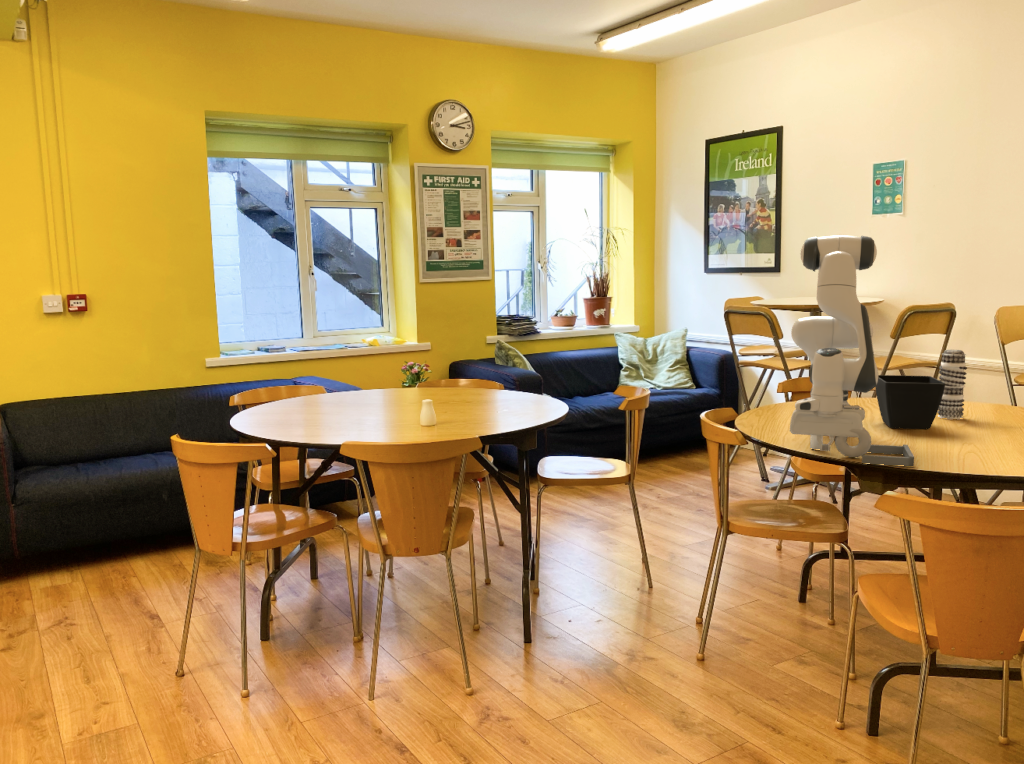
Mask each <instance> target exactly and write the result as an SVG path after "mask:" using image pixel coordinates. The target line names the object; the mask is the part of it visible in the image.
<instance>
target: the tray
mask: <svg viewBox="0 0 1024 764" xmlns="http://www.w3.org/2000/svg"><path fill="white" fill-rule="evenodd" d="M868 452H871V453H870V454H864V455H862V456H861V464H862V463H870V464H884V465H904V466H915V456H914V454H913V452H912V450H911V448H910V447H909V444H902V445H889V444H871V446H870V449H869V450H868ZM873 453H884V454H883V455H876V454H875V455H874V454H873ZM871 454H873V455H871ZM891 454H903V455H902V456H893V455H892V456H891ZM886 455H887V456H886ZM888 455H890V456H888ZM884 465H883V466H884Z"/></svg>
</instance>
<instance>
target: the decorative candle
mask: <svg viewBox="0 0 1024 764" xmlns="http://www.w3.org/2000/svg"><path fill="white" fill-rule="evenodd" d="M966 356H967V354H966V353H965V352H964V351H963V350H961V349H946V350H944V351H943V353H941V362H940V366H939V367H938V369H939V371H938V374H940V376H938V378H939V379H938V380H939V381H942V382H944V383H945V388H944V392H943V396H942V400H941V403H940V406H939V409H938V412H937V416H938V417H940V418H939V419H942V418H947V419H946V420H953V419H957V420H961V419H960V418H963V419H964V417H963V416H964V411H965V410H964V406H965V404H964V402H965V399H964V398H965V397H964V396H965V395H964V388H966V382H965V380H966V379H967V377H966V375H967V372H966V371H965V370H967V369H968V367H967V366H966ZM938 417H937V418H938Z"/></svg>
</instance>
